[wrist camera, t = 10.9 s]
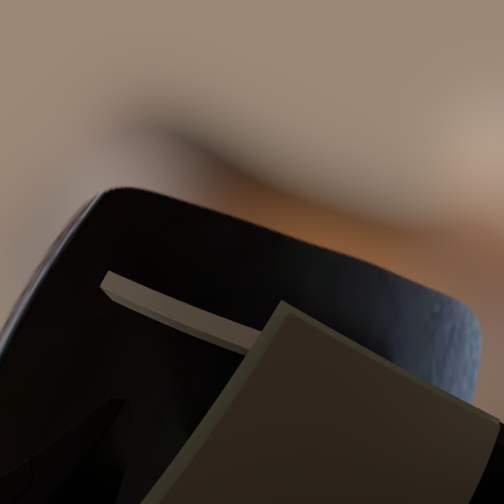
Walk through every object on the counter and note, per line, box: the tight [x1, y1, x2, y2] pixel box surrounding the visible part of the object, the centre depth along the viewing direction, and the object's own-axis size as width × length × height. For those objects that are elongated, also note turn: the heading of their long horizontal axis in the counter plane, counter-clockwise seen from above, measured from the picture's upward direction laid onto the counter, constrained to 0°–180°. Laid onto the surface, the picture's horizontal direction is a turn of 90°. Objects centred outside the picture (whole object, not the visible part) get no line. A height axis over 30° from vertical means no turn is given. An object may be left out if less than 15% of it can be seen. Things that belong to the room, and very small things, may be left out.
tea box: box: [140, 300, 500, 504], centre depth 8 cm, size 5×5×12 cm
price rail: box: [100, 271, 261, 356], centre depth 15 cm, size 17×2×2 cm, turn 70°
